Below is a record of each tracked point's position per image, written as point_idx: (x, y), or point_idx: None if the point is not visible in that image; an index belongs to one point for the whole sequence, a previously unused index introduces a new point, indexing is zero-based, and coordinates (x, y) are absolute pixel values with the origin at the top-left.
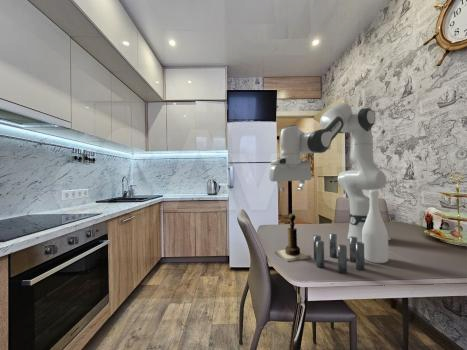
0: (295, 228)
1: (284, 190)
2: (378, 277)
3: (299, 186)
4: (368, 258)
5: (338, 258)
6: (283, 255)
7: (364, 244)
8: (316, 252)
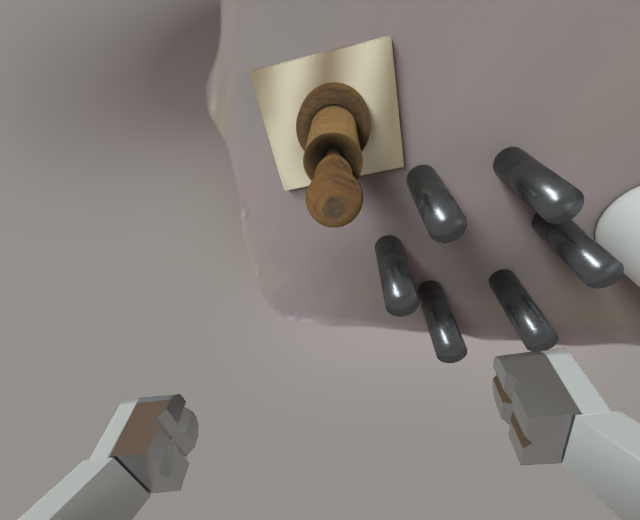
0: (361, 154)
1: (196, 438)
2: (497, 327)
3: (578, 418)
4: (598, 241)
5: (427, 318)
6: (278, 149)
7: (637, 254)
8: (380, 275)
